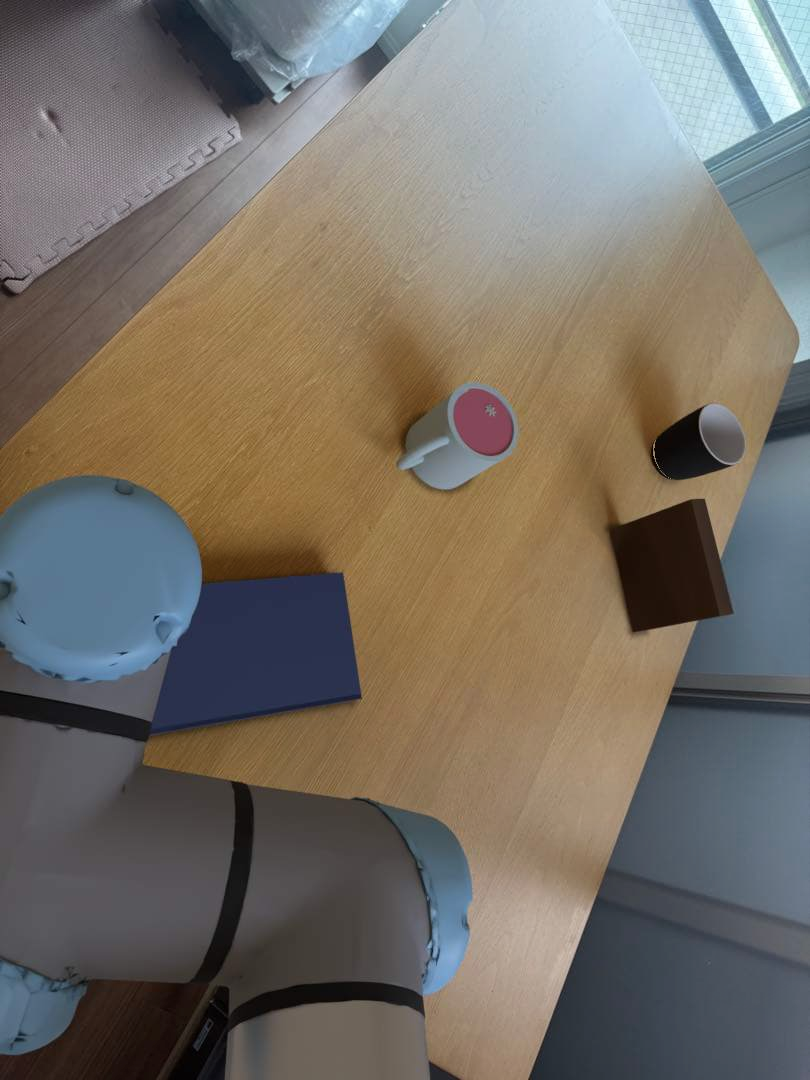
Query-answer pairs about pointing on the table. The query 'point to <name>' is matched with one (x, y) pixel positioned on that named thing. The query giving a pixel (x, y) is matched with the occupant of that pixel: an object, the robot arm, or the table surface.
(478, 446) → the mug
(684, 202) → the table surface
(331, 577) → the book
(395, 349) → the table surface
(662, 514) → the dark brown flat block
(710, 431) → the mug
